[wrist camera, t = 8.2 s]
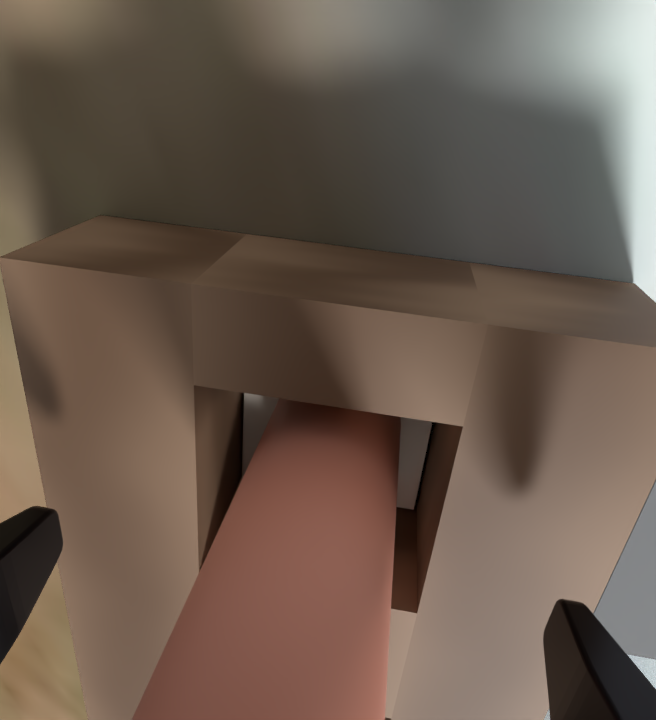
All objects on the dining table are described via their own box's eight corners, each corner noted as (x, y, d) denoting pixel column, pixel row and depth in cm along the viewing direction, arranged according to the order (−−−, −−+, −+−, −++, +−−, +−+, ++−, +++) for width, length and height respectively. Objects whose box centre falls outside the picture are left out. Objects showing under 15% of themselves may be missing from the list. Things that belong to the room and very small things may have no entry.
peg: (410, 375, 13) (396, 819, 5) (391, 481, 15) (357, 958, 6) (279, 356, 13) (71, 747, 5) (273, 462, 15) (102, 896, 7)
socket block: (634, 283, 12) (713, 355, 9) (463, 751, 20) (471, 873, 17) (100, 215, 13) (-2, 257, 10) (148, 687, 21) (102, 791, 18)
